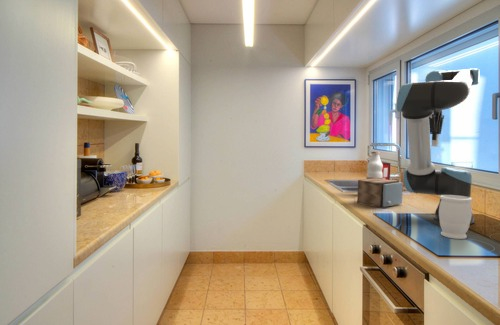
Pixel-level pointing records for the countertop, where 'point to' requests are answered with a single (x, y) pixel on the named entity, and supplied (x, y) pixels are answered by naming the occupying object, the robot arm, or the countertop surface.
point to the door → (392, 194)
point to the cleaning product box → (386, 170)
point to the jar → (455, 215)
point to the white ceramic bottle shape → (375, 166)
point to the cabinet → (372, 191)
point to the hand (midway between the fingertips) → (434, 146)
